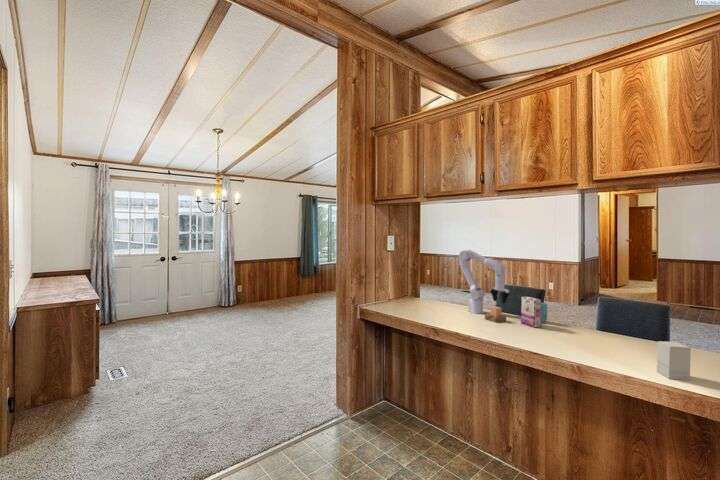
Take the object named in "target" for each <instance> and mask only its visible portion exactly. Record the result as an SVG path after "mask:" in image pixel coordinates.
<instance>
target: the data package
mask: <svg viewBox="0 0 720 480" xmlns="http://www.w3.org/2000/svg"><path fill="white" fill-rule="evenodd" d="M547 321H548V304H547V303H546V302H542V301H541V324H543V323H546V322H547Z"/></svg>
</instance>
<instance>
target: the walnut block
mask: <svg viewBox="0 0 720 480" xmlns="http://www.w3.org/2000/svg"><path fill="white" fill-rule="evenodd" d="M484 320H485V321H489V322H492V323H501V322H502V323H503V322H507V316H506V315H503V314H502V316H493V315H491V313H487V314H486V313H484Z"/></svg>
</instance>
